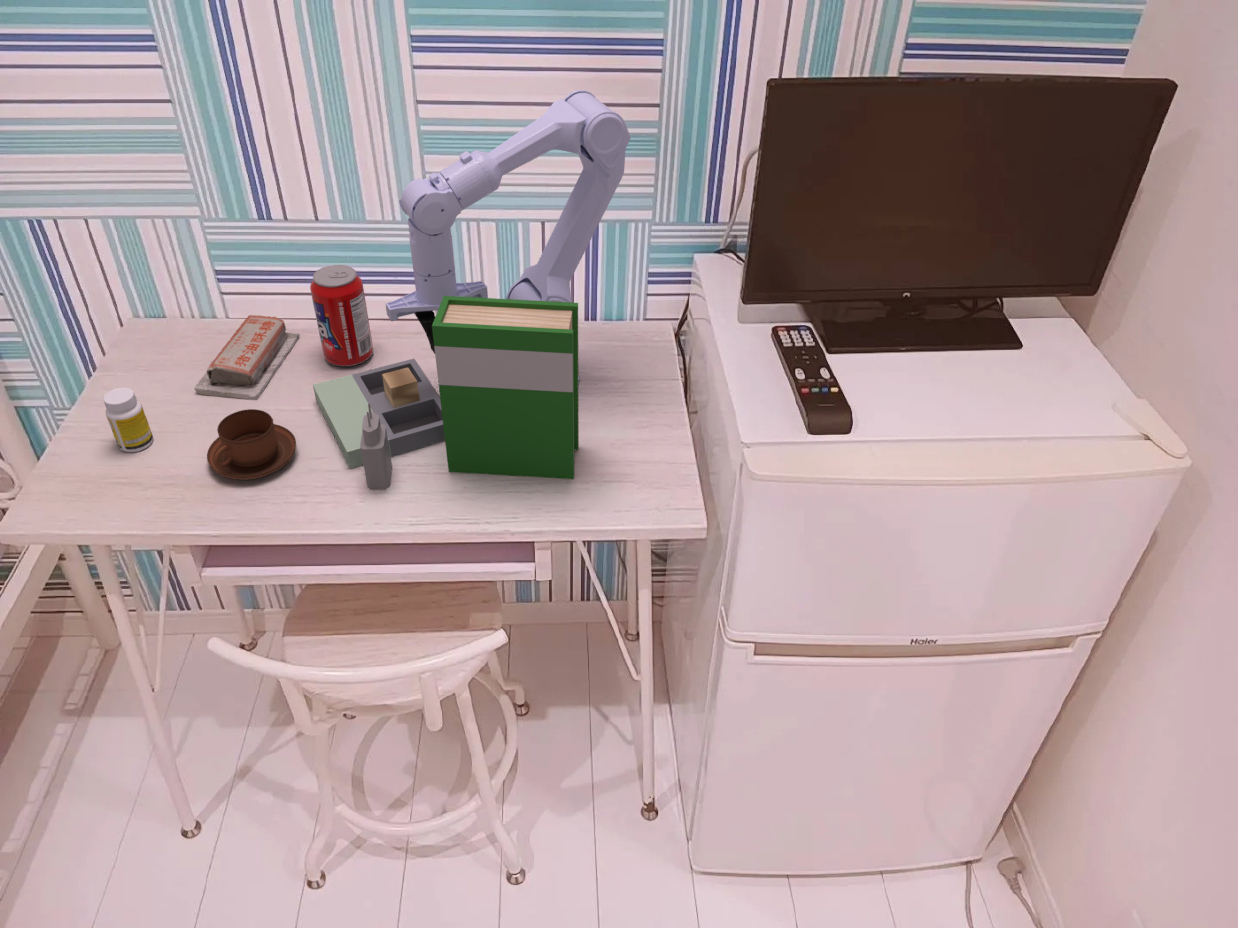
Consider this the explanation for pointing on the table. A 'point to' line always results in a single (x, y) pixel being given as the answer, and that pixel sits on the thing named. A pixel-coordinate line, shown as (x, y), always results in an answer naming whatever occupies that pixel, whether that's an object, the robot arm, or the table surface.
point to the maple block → (401, 387)
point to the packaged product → (248, 359)
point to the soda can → (341, 315)
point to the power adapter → (375, 452)
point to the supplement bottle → (127, 420)
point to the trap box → (380, 411)
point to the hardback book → (508, 385)
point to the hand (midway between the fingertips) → (442, 349)
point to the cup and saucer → (250, 446)
